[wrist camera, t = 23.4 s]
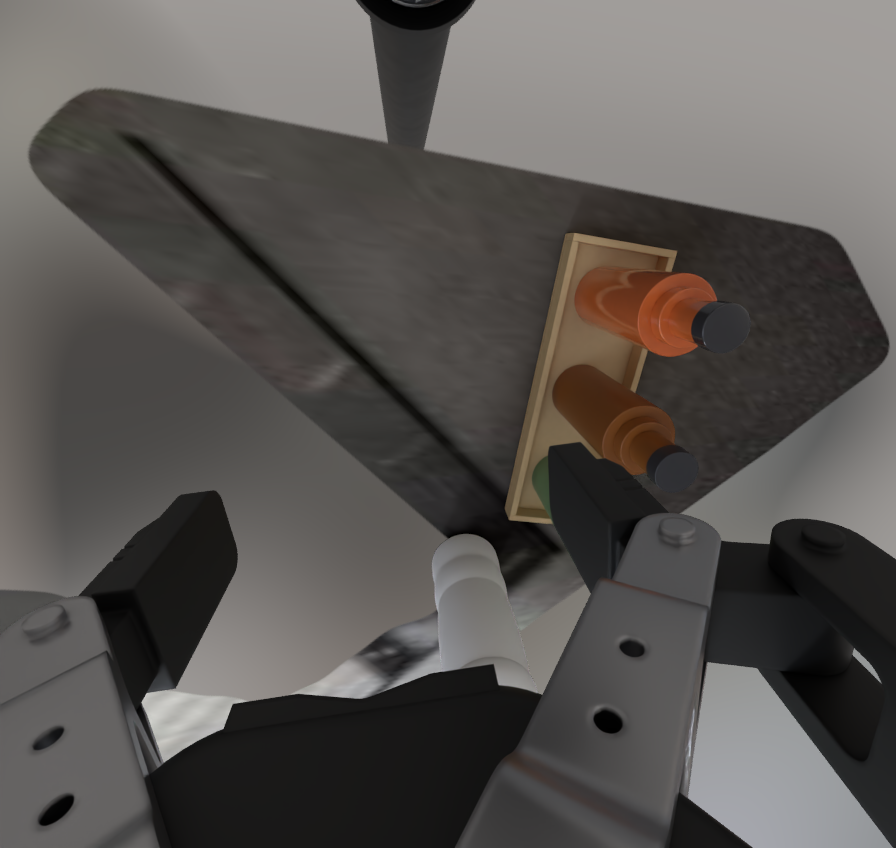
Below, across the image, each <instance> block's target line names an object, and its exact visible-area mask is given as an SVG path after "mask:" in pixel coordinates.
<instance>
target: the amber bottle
mask: <svg viewBox="0 0 896 848" xmlns="http://www.w3.org/2000/svg"><path fill="white" fill-rule="evenodd" d="M552 400H553V403H554V406H555V408H556V409H557V410H558V411H559V413H560V414H561V415H562V416H563V417H564V418H565V419H566V420H567V421H568V422H569V423H570V424H571V425H572V426H573V427H574V429H575V430H576V431H577V432H578V433H579V434H580V435H581V436H582V437H583V438H584V439H585V440H586V441H587V442H588V443H589V445H590V446H591V447H592V448H593V449H594V450H595V451H596V452H597V453H598V454H599V455H600V456H601V457H602V458H606V459H608V460H610V461H612V462H615V463H617V464H619V465H621V466H623V467H624V468H625V469H626V470H627V471H628V472H629V473H630V474H631V475H637V474H642V473H646V474H647V475H648V477H649V478H650V480H651V481H652V482H654V483H655V484H656V485H657V486H658V487H659V488H660V489H661V490H663V491H666V492H671V493H673V492H679V491H682V490H684V489H686V488H687V487H689V486H690V485H691V484H692V483H693V482H694V480H695V479H696V477H697V474H698V462H697V460H696V458H695V457H694V456H693V455H691V454H690V453H689V452H687V451H686V450H685V449H683V448H682V447H680V446H677V445H675V444H674V440H675V428H674V424H673V422H672V420H671V418H670V417H669V416H668V414H667V413H666V412H664V411H663V410H661V409H660V408H658V407H657V406H655V405H654V404H652V403H650V402H649V401H647V400H646V399H644V398H643V397H641V396H639V395H638V394H636V393H635V392H633V391H631V390H630V389H628V388H627V387H625V386H624V385H622V384H620V383H619V382H617V381H616V380H614V379H613V378H611V377H609V376H608V375H606V374H605V373H603V372H602V371H600V370H598V369H597V368H595V367H593V366H590V365H576V366H573V367H570V368H568V369H567V370H565V371H564V372H563V373H562V374H560V376H559V377H558V378H557V380H556V381H555V384H554V386H553V390H552Z"/></svg>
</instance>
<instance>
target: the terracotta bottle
mask: <svg viewBox="0 0 896 848" xmlns="http://www.w3.org/2000/svg"><path fill="white" fill-rule="evenodd" d="M574 303H575V309H576V312H577V314H578V315H579V317H580V318H581V319H582V321H584V322H585V323H586V324H588V325H590V326H592V327H595V328H597V329H599V330H602V331H604V332H606V333H609V334H611V335H613V336H616V337H618V338H620V339H623V340H625V341H628V342H630V343H632V344H635V345H637V346H639V347H642V348H644V349H646V350H649V351H651V352H653V353H656V354H658V355H661V356H667V357H673V356H679V355H683V354H685V353H688V352H690V351H692V350H693V349H695V348H696V347H698V346H699V347H701V348H703V349H706V350H709V351H712V352H715V353H727V352H730V351H732V350H734V349H736V348H737V347H739V346H740V345H741V344H742V343H743V342H744V340H745V339H746V337H747V335H748V333H749V330H750V324H751V322H750V316H749V314H748V312H747V310H746V309H745V308H744V307H743V306H741V305H739V304H736V303H731V302H725V301H717V299H716V296H715V293H714V291H713V289H712V287H711V286H710V285H709V283H708V282H707V281H706V280H704V279H703V278H701V277H699V276H697V275H694V274H690V273H681V272H670V271H660V270H650V269H639V268H629V267H619V266H600V267H597V268H595V269H593V270H591V271H590V272H588V273H587V274H586V275H585V276H584V277H583V278H582V279H581V281H580V282H579V284H578V286H577V289H576V292H575V298H574Z"/></svg>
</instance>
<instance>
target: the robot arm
mask: <svg viewBox="0 0 896 848" xmlns="http://www.w3.org/2000/svg"><path fill="white" fill-rule="evenodd" d="M387 1H389V2H390V3H392V4H394V5H396V6H399V7H401V8H405V9H410V10H425V9H430V8H433V7H436V6H438V5H440V4H442V3H444V2H445V1H447V0H387ZM548 473H549V501H550V511H551V516H552V520H553V523H554V526H555V528H556V530H557V532H558V534H559V535H560V537H561V539H562V541H563V543H564V545H565V547H566V548H567V550H568V552H569V554H570V556H571V558H572V560H573V561H574V563H575V565H576V567H577V569H578V571H579V572H580V574H581V576H582V578H583V580H584V582H585V584H586V585H587V587H588V589H589V591H590V593H591V595H590V597H589V599H588V601H587V603H586V606H585V608H584V609H583V612H582V614H581V616H580V618H579V620H578V622H577V624H576V626H575V628H574V630H573V632H572V634H571V637H570V639H569V641H568V643H567V645H566V647H565V649H564V651H563V653H562V655H561V657H560V659H559V662H558V664H557V666H556V668H555V670H554V672H553V674H552V676H551V678H550V680H549V682H548V684H547V687H546V689H545V691H544V693H543V695H541V694H539V693H536V692H532V691H529V690H526V689H521V688H516V687H511V686H503V685H498V681H497V676H496V671H495V667H494V664H489V665H483V666H476V667H470V668H463V669H457V670H450V671H444V672H438V673H431V674H428V675H426V676H423V677H421V678H418V679H415V680H413V681H410V682H408V683H405V684H402V685H400V686H397V687H395V688H392V689H389V690H387V691H384V692H382V693H379V694H376V695H374V696H371V697H368V698H363V699H353V698H341V697H329V696H316V695H304V694H295V695H288V696H282V697H275V698H269V699H263V700H256V701H249V702H243V703H236V704H233V705H232V708H231V710H230V713H229V716H228V719H227V721H226V724H225V727H224V729H222V730H220V731H217V732H215V733H213V734H211V735H209V736H207V737H205V738H203V739H201V740H199V741H197V742H195V743H194V744H192V745H190V746H188V747H187V748H185V749H183V750H182V751H180V752H179V753H177V754H176V755H174V756H173V757H172V758H170V759H169V760H167V761H166V762H165V763H164V762H163V760H162V757H161V754H160V751H159V748H158V745H157V742H156V740H155V737H154V734H153V731H152V728H151V725H150V722H149V720H148V717H147V714H146V712H145V710H144V708H143V705H142V703H141V702H142V700H143V698H144V697H145V695H146V693H149V692H156V691H162V690H169V689H174V688H176V686H177V685H178V682H179V680H180V678H181V677H182V675H183V673H184V671H185V669H186V667H187V665H188V663H189V661H190V659H191V657H192V655H193V653H194V651H195V649H196V648H197V645H198V644H199V642H200V640H201V638H202V636H203V634H204V632H205V630H206V628H207V626H208V624H209V622H210V620H211V618H212V616H213V614H214V612H215V611H216V608H217V607H218V605H219V603H220V601H221V599H222V597H223V595H224V593H225V591H226V589H227V587H228V585H229V583H230V581H231V579H232V577H233V575H234V573H235V571H236V568H237V560H238V558H237V557H238V556H237V555H238V554H237V547H236V543H235V540H234V537H233V534H232V531H231V527H230V524H229V521H228V518H227V515H226V512H225V508H224V505H223V502H222V499H221V497H220V495H219V494H218V493H217V492H216V491H205V492H198V493H190V494H184V495H180V496H179V497H177V498H176V500H175V501H174V502H173V503H172V504H171V505H170V506H169V508H168V509H167V510H166V511H165V512H164V513H163V514H162V515H161V517H160V518H158V519H156V520H155V521H153V522H152V523H150V524H149V525H147V526H146V527H144V528H143V529H141V530H140V531H138V532H137V533H136V534H135V535H134V536H133V538H132V539H131V540H130V541H129V542H128V543H127V544H126V545H125V548H124V549H121V550H120V552H119V553H118V554H117V555H116V556H115V557H114V558H113V561H112V562H110V563H108V564H107V566H106V567H105V568H104V569H103V570H102V571H101V572H100V573H99V574H98V575H97V577H95V579H94V580H93V581H92V582H91V583H90V584H89V585H88V586H87V587H86V588H85V589H84V591H82V593H81V594H80V595H79V596H74V597H68V598H64V599H60V600H57V601H54V602H52V603H49V604H47V605H44V606H42V607H40V608H38V609H36V610H34V611H32V612H30V613H28V614H27V615H25V616H23V617H22V618H20V619H19V620H17V621H16V622H14V623H13V624H12V625H11V626H9V627H8V628H7V629H6V630H5V631H4V632H3V633H2V634H1V635H0V848H752V847H751V846H750V845H748V844H747V843H746V842H745V841H743V840H742V839H741V838H739V837H738V836H737V835H735V834H734V833H733V832H731V831H730V830H729V829H727V828H726V827H725V826H724V825H722V824H721V823H720V822H718V821H717V820H716V819H714V818H713V817H712V816H710V815H709V814H708V813H706V812H705V811H704V810H702V809H701V808H700V807H698V806H697V805H696V804H694V803H693V802H692V801H691V800H689V799H688V791H689V784H690V777H691V768H692V760H693V753H694V747H695V740H696V734H697V728H698V721H699V714H700V708H701V702H702V695H703V689H704V682H705V676H706V669H707V662H711V663H720V664H728V665H737V666H745V667H753V668H758V670H759V671H760V673H761V674H762V675H763V677H764V678H765V679H766V681H767V682H768V683H769V685H770V686H771V687H772V688H773V690H774V691H775V692H776V694H777V695H778V696H779V698H780V699H781V700H782V702H783V703H784V704H785V706H786V707H787V708H788V710H789V711H790V712H791V714H792V715H793V716H794V718H795V719H796V720H797V722H798V723H799V724H800V725H801V727H802V728H803V730H804V731H805V732H806V733H807V735H808V736H809V737H810V739H811V740H812V741H813V743H814V744H815V745H816V746H817V748H818V749H819V751H820V752H821V753H822V755H823V756H824V757H825V758H826V760H827V761H828V763H829V764H830V765H831V766H832V768H833V769H834V770H835V772H836V773H837V774H838V776H839V777H840V778H841V780H842V781H843V782H844V784H845V785H846V786H847V788H848V789H849V790H850V791H851V793H852V794H853V795H854V797H855V798H856V799H857V801H858V802H859V803H860V805H861V806H862V807H863V809H864V810H865V811H866V813H867V814H868V815H869V816H870V818H871V819H872V821H873V822H874V823H875V825H876V826H877V827H878V828H879V830H880V831H881V832H882V834H883V835H884V836H885V838H886V839H887V840H888V842H889V843H890V844H891V846H892V847H893V848H896V559H895V558H893V557H892V556H890V555H889V554H887V553H886V552H884V551H883V550H882V549H880V548H879V547H877V546H876V545H874V544H873V543H871V542H870V541H868V540H867V539H865V538H864V537H862V536H861V535H859V534H858V533H856V532H853V531H852V530H850V529H847V528H844V527H842V526H839V525H836V524H833V523H828V522H825V521H819V520H811V519H791V520H786V521H782V522H780V523H778V524H776V525H775V526H774V527H773V529H772V533H771V540H770V544H756V543H738V542H726V541H721V538H720V535H719V534H718V532H717V531H716V530H715V529H714V528H713V527H712V526H710V525H709V524H707V523H706V522H704V521H702V520H700V519H697V518H694V517H691V516H687V515H683V514H677V513H669V512H668V511H667V510H666V509H665V508H664V507H663V506H662V505H661V504H660V503H659V502H658V501H657V500H656V499H655V498H654V497H653V496H652V495H651V494H650V493H649V492H648V491H647V490H646V489H645V488H642V485H641V484H640V483H639V482H638V481H637V480H636V479H633V476H632V475H631V474H630V473H629V472H628V471H627V470H626V469H625V468H624V467H623V466H621V465H619V464H617V463H615V462H612V461H610V460H608V459H606V458H602V459H596V458H595V457H594V456H593V455H592V454H591V453H590V451H589V450H588V449H587V448H586V447H585V446H584V445H583V444H582V443H581V442H575V443H568V444H560V445H553V446H550V447H549V450H548ZM854 648H855V649H856V650H857V651H858V652H859V653H860V654H861V655H862V656H863V657H864V658H865V659H866V660H867V661H868V662H869V663H870V664H871V665H872V667H873V668H874V669H875V671H876V673H877V674H878V676H879V678H880V680H881V683H882V684H881V683H880V682H879V681H878V680H877V679H876V678H875V677H874V676H873V675H872V674H871V673H870V672H869V671H868V670H867V669H866V668H865V667H864V666H863V665H862V664H861V663H860V662H859V661H858V660H857V659H856V658H855V657H854V656H853V655H852V653H853V650H854Z"/></svg>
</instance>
